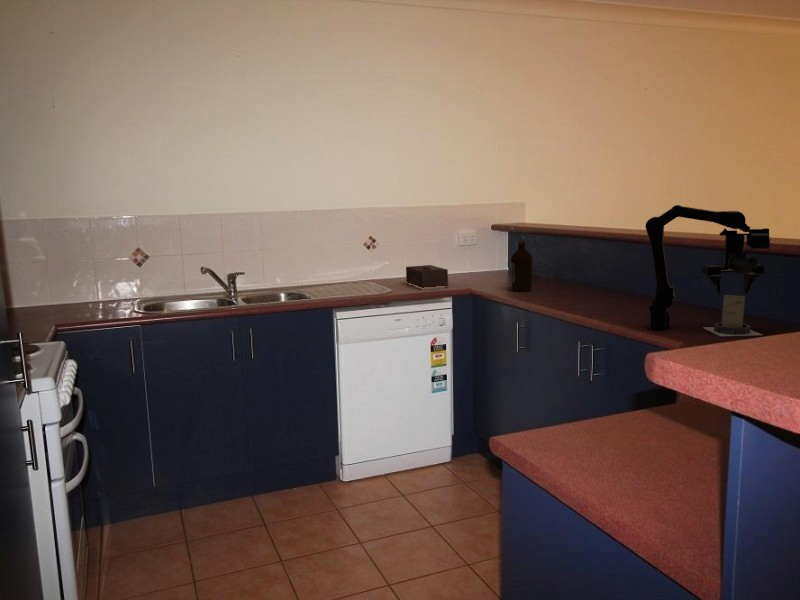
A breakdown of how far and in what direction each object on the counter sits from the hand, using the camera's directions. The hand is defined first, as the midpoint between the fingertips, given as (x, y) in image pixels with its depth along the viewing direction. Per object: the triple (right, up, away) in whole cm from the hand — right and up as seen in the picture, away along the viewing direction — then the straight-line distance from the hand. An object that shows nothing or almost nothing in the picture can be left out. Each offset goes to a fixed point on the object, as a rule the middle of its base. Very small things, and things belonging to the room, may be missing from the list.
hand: (731, 294), depth 225 cm
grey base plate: (+1, -13, +1) cm, 13 cm away
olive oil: (-52, +3, +107) cm, 119 cm away
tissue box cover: (-98, +5, +135) cm, 167 cm away
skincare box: (+1, -13, +1) cm, 13 cm away
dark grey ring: (+1, -12, +1) cm, 13 cm away
